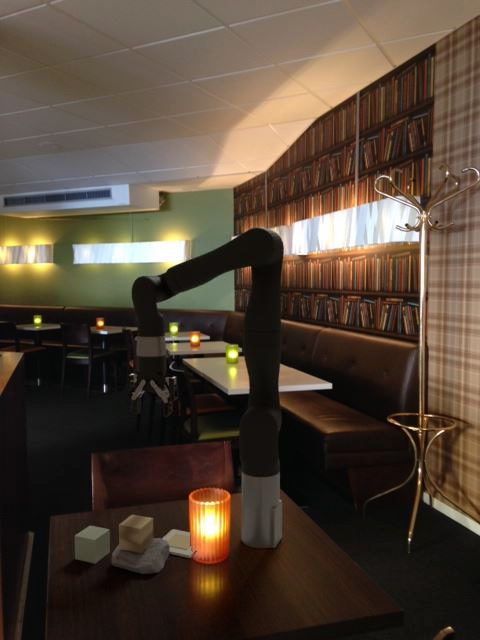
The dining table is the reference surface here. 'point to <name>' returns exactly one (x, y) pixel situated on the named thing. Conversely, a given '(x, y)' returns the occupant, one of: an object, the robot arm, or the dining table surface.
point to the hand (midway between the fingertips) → (152, 415)
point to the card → (179, 543)
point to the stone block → (143, 558)
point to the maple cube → (136, 533)
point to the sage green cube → (92, 544)
